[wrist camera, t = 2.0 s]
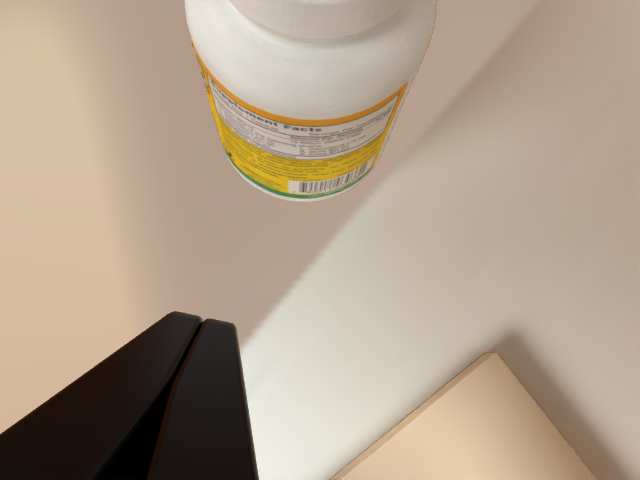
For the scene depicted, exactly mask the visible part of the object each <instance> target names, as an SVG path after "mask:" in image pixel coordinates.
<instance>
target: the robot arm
mask: <svg viewBox="0 0 640 480" xmlns="http://www.w3.org/2000/svg"><path fill="white" fill-rule="evenodd" d="M0 480H259V477H258V470H257V463H256V457H255V450H254V443H253V436H252V430H251V423H250V416H249V409H248V403H247V396H246V389H245V382H244V376H243V369H242V362H241V356H240V349H239V342H238V336H237V329H236V327H235V325H234V324H233V323H229V322H224V321H219V320H215V319H206V320H205V321H203V319H202V318H201V317H200V316H196V315H191V314H186V313H182V312H176V311H174V312H171V313H169V314H167V315H166V316H165V317H163V318H162V319H161V320H159V321H158V322H156V323H155V324H153V325H152V326H151V327H149V328H148V329H146V330H145V331H144V332H142V333H141V334H139V335H138V336H137V337H135V338H134V339H133V340H131V341H130V342H128V343H127V344H125V345H124V346H123V347H121V348H120V349H119V350H117V351H116V352H114V353H113V354H112V355H110V356H109V357H108V358H106V359H104V360H103V361H102V362H100V363H99V364H98V365H96V366H95V367H93V368H92V369H91V370H89V371H88V372H86V373H85V374H84V375H82V376H81V377H79V378H78V379H77V380H75V381H74V382H72V383H71V384H70V385H68V386H67V387H65V388H64V389H63V390H61V391H60V392H58V393H57V394H56V395H54V396H53V397H51V398H50V399H49V400H47V401H46V402H45V403H43V404H42V405H40V406H39V407H37V408H36V409H35V410H33V411H32V412H30V413H29V414H28V415H27V416H25V417H24V418H23V419H21V420H19V421H18V422H17V423H15V424H14V425H12V426H11V427H10V428H8V429H7V430H5V431H4V432H3V433H1V434H0Z"/></svg>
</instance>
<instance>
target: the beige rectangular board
mask: <svg viewBox="0 0 640 480" xmlns="http://www.w3.org/2000/svg"><path fill="white" fill-rule="evenodd" d="M330 480H597V479H596V478H595V476H594V475H593V474H592V473H591V471H590V470H589V469H588V467H587V466H586V465H585V464H584V462H583V461H582V460H581V459H580V457H579V456H578V455H577V454H576V452H575V451H574V450H573V449H572V447H571V446H570V445H569V444H568V442H567V441H566V440H565V438H564V437H563V436H562V435H561V433H560V432H559V431H558V430H557V428H556V427H555V426H554V425H553V423H552V422H551V421H550V420H549V418H548V417H547V416H546V415H545V413H544V412H543V411H542V409H541V408H540V407H539V406H538V404H537V403H536V402H535V401H534V399H533V398H532V397H531V396H530V394H529V393H528V392H527V391H526V389H525V388H524V387H523V386H522V384H521V383H520V382H519V380H518V379H517V378H516V377H515V375H514V374H513V373H512V372H511V370H510V369H509V368H508V367H507V365H506V364H505V363H504V362H503V360H502V359H501V358H500V357H499V355H498V354H497V353H496V352H492V353H484V354H483V355H482V356H481V357H479V358H478V359H477V360H476V361H475V362H473V363H472V364H471V365H470V366H468V367H467V368H466V369H465V370H464V371H462V372H461V373H460V374H459V375H457V376H456V377H455V378H454V379H453V380H451V381H450V382H449V383H448V384H446V385H445V386H444V387H443V388H441V389H440V390H439V391H438V392H437V393H435V394H434V395H433V396H432V397H430V398H429V399H428V400H427V401H426V402H424V403H423V404H422V405H421V406H419V407H418V408H417V409H416V410H415V411H413V412H412V413H411V414H410V415H408V416H407V417H406V418H405V419H404V420H402V421H401V422H400V423H399V424H397V425H396V426H395V427H394V428H393V429H391V430H390V431H389V432H388V433H386V434H385V435H384V436H383V437H382V438H380V439H379V440H378V441H377V442H375V443H374V444H373V445H372V446H370V447H369V448H368V449H367V450H366V451H364V452H363V453H362V454H361V455H359V456H358V457H357V458H356V459H355V460H353V461H352V462H351V463H350V464H348V465H347V466H346V467H345V468H344V469H342V470H341V471H340V472H339V473H337V474H336V475H335V476H334V477H333V478H331V479H330Z"/></svg>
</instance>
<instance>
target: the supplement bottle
mask: <svg viewBox="0 0 640 480" xmlns="http://www.w3.org/2000/svg"><path fill="white" fill-rule="evenodd" d="M185 12H186V18H187V25H188V29H189V32H190V36H191V40H192V46H193V48H194V51H195V54H196V57H197V60H198V64H199V67H200V70H201V74H202V77H203V80H204V84H205V88H206V91H207V95H208V98H209V102H210V105H211V109H212V112H213V116H214V120H215V123H216V125H217V129H218V132H219V135H220V138H221V142H222V145H223V148H224V151H225V152H226V155H227V157H228V159H229V161H230V163H231V164H232V165H233V167H234V168H235V169H236V171H237V172H238V173H239V174H240V175H241V176H242V177H243V178H244V179H245V180H246V181H247V182H248V183H250V184H251V185H252V186H254V187H256V188H257V189H259V190H261V191H263V192H265V193H266V194H268V195H271V196H274V197H276V198H279V199H283V200H289V201H297V202H312V201H320V200H324V199H329V198H332V197H335V196H337V195H340V194H342V193H344V192H346V191H348V190H350V189H351V188H353V187H354V186H356V185H357V184H358V183H359V182H360V181H362V180H363V179H364V178H365V177H366V176H367V175H368V174H369V173H370V172H371V170H372V169H373V168H374V166H375V164H376V163H377V162H378V160H379V158H380V156H381V154H382V152H383V150H384V147H385V145H386V143H387V140H388V138H389V135H390V133H391V131H392V128H393V126H394V124H395V121H396V119H397V117H398V114H399V112H400V109H401V107H402V105H403V102H404V100H405V98H406V96H407V93H408V91H409V89H410V86H411V84H412V82H413V79H414V77H415V75H416V73H417V71H418V69H419V66H420V64H421V62H422V60H423V57H424V55H425V53H426V51H427V48H428V45H429V43H430V40H431V36H432V33H433V28H434V23H435V17H436V0H185Z"/></svg>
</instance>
